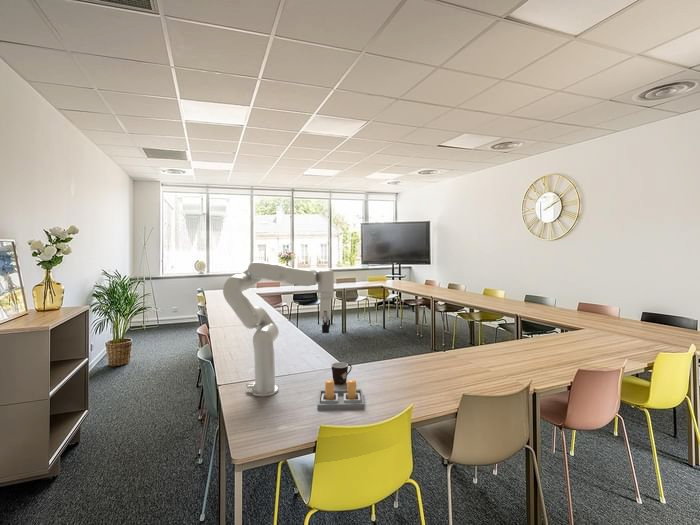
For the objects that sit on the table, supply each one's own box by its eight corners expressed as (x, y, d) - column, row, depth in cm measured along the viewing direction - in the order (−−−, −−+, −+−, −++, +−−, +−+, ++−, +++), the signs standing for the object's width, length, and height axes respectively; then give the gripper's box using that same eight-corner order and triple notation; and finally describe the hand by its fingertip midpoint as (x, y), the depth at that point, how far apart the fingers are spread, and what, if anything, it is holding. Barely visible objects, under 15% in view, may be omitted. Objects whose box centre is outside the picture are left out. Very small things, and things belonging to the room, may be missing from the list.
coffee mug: (333, 388, 169) (333, 368, 169) (329, 381, 177) (329, 363, 177) (355, 385, 172) (355, 366, 172) (351, 379, 180) (351, 360, 180)
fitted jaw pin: (325, 403, 150) (324, 383, 150) (325, 399, 154) (325, 379, 154) (334, 403, 151) (334, 383, 150) (334, 399, 155) (334, 379, 154)
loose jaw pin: (347, 403, 151) (347, 383, 150) (347, 399, 155) (347, 379, 154) (356, 402, 151) (356, 382, 151) (356, 398, 155) (356, 379, 155)
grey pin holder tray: (317, 411, 145) (317, 404, 145) (319, 396, 160) (319, 390, 160) (364, 410, 146) (364, 404, 145) (361, 395, 160) (361, 389, 160)
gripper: (319, 292, 171) (319, 326, 172) (316, 297, 154) (316, 335, 154) (334, 292, 171) (334, 326, 172) (333, 297, 154) (333, 335, 155)
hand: (326, 330), depth 163 cm, fingers open, 9 cm apart
